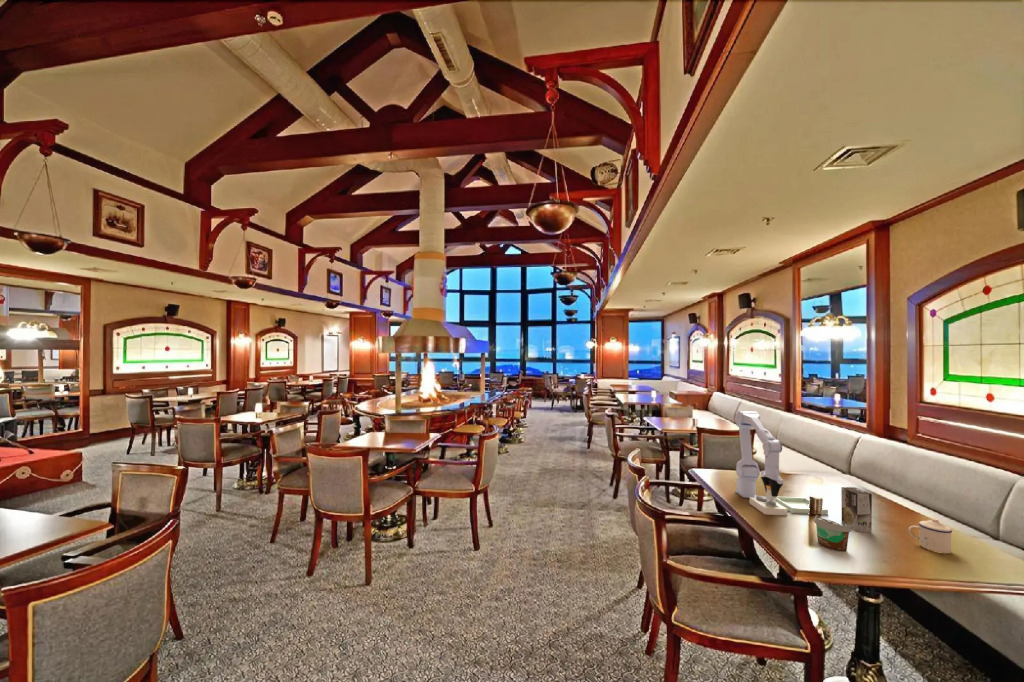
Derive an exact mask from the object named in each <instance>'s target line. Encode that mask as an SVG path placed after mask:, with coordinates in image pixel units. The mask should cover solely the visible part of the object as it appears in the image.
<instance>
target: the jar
mask: <svg viewBox="0 0 1024 682" xmlns="http://www.w3.org/2000/svg"><path fill="white" fill-rule="evenodd" d="M766 488H767V493H766V497H767V498H766V503H767V504H769V505H773V506H776V498H777V497H773V496H772V494H771V487H770V484H767V485H766Z"/></svg>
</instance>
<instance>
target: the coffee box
mask: <svg viewBox="0 0 1024 682" xmlns="http://www.w3.org/2000/svg"><path fill="white" fill-rule="evenodd" d="M840 494H841V495H840V496H841V525H843V526H850V528H851V530H854V531H856V532H861V533H863V532H865V533H872V532H873V531H872V528H873V527H872V525H873V523H872V520H873V519H872V518H873V516H872V514H873V512H872V511H873V510H872V509H873V507H872V506H873V494H872V493H871V492H867V491H865V490H863V489H860V488H859V487H858V488H857V487H854V486H853V487H852V486H847V487H846V486H845V487H841V493H840Z"/></svg>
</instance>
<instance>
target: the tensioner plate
mask: <svg viewBox="0 0 1024 682" xmlns="http://www.w3.org/2000/svg"><path fill="white" fill-rule="evenodd" d="M766 498H767V496H764V495H756V498H753V497H750V498H749V504H750V505H752V507H754V508H756V510H758V511H760V512H761V513H762V514H764V515H769V516H771V515H772V516H788V509H787V508H785V507H783V506H782V505H780V504H779V503H777V502H776V506H773V505H769V504H767V503H766Z"/></svg>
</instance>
